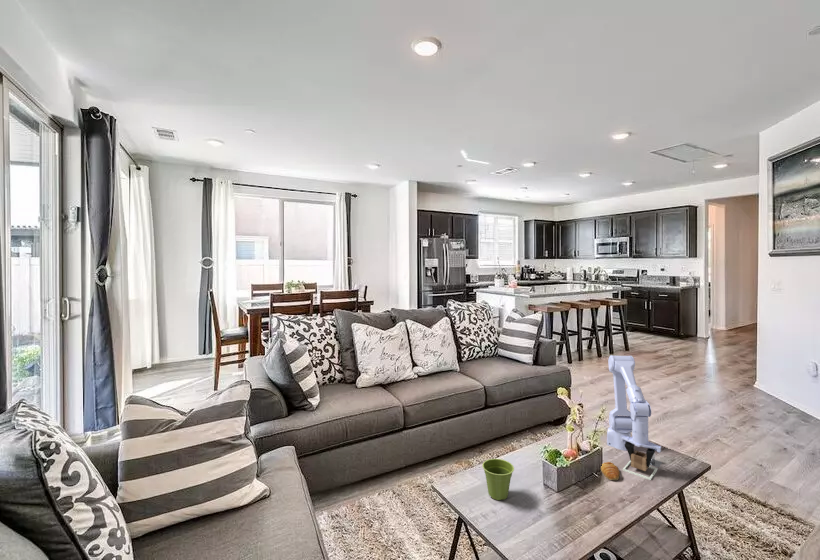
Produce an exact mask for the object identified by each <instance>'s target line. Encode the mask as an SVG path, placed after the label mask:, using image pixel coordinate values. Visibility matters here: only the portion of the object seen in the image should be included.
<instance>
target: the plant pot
mask: <svg viewBox="0 0 820 560" xmlns="http://www.w3.org/2000/svg"><path fill="white" fill-rule="evenodd" d="M481 465H482V466H481V467H482V469H483V470H484V476H485V480H486V485H487V486H486V487H487V492H488V495H489V497H490V496H491V497H492V498H491V497H490V498H491V499H493V500H497V501H501V500H506V499H508V496H509V490H510V484H511V478H512V476H513V473H514V471H515V467H514V465H513V464H512V463H511V462H509V461H507V460H505V459H502V458H490V459H485V460H484V461H483V463H482V464H481Z"/></svg>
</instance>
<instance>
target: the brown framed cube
mask: <svg viewBox="0 0 820 560" xmlns="http://www.w3.org/2000/svg"><path fill="white" fill-rule="evenodd" d="M630 467H632V468H634V469H637V470H640V471H643V472H646V471H648V469H649V468H648V466H647V454H646V452H643V451H639V450H636V449H634V452H633V453H632V454H631V463H630Z"/></svg>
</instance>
